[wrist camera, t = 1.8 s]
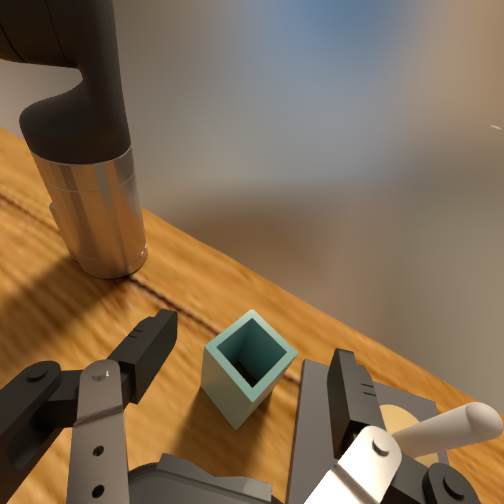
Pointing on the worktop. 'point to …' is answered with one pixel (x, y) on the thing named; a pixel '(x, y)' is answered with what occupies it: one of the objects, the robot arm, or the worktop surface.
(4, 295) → the worktop surface
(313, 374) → the pipe stand
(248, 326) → the sleeve
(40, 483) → the worktop surface
